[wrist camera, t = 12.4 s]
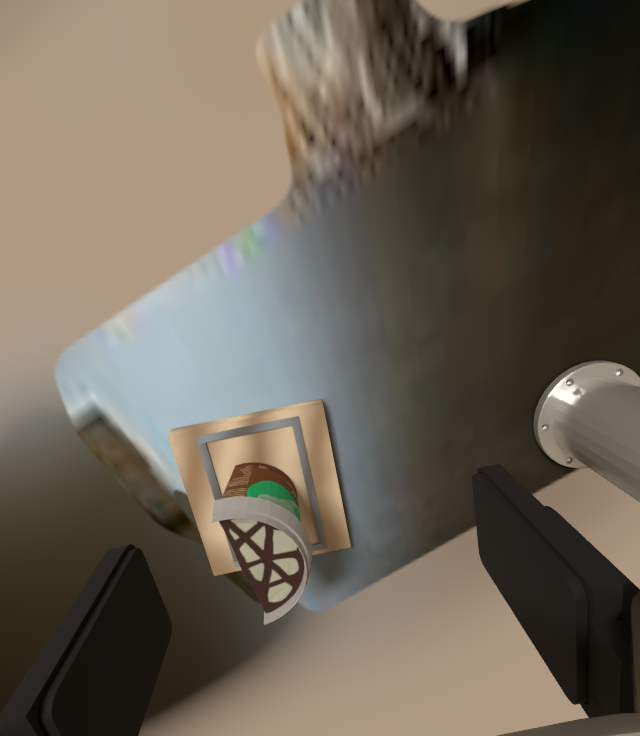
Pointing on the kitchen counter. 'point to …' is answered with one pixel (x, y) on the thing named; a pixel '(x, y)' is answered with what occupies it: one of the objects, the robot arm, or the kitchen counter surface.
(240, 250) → the kitchen counter surface
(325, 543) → the base board
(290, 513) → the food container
